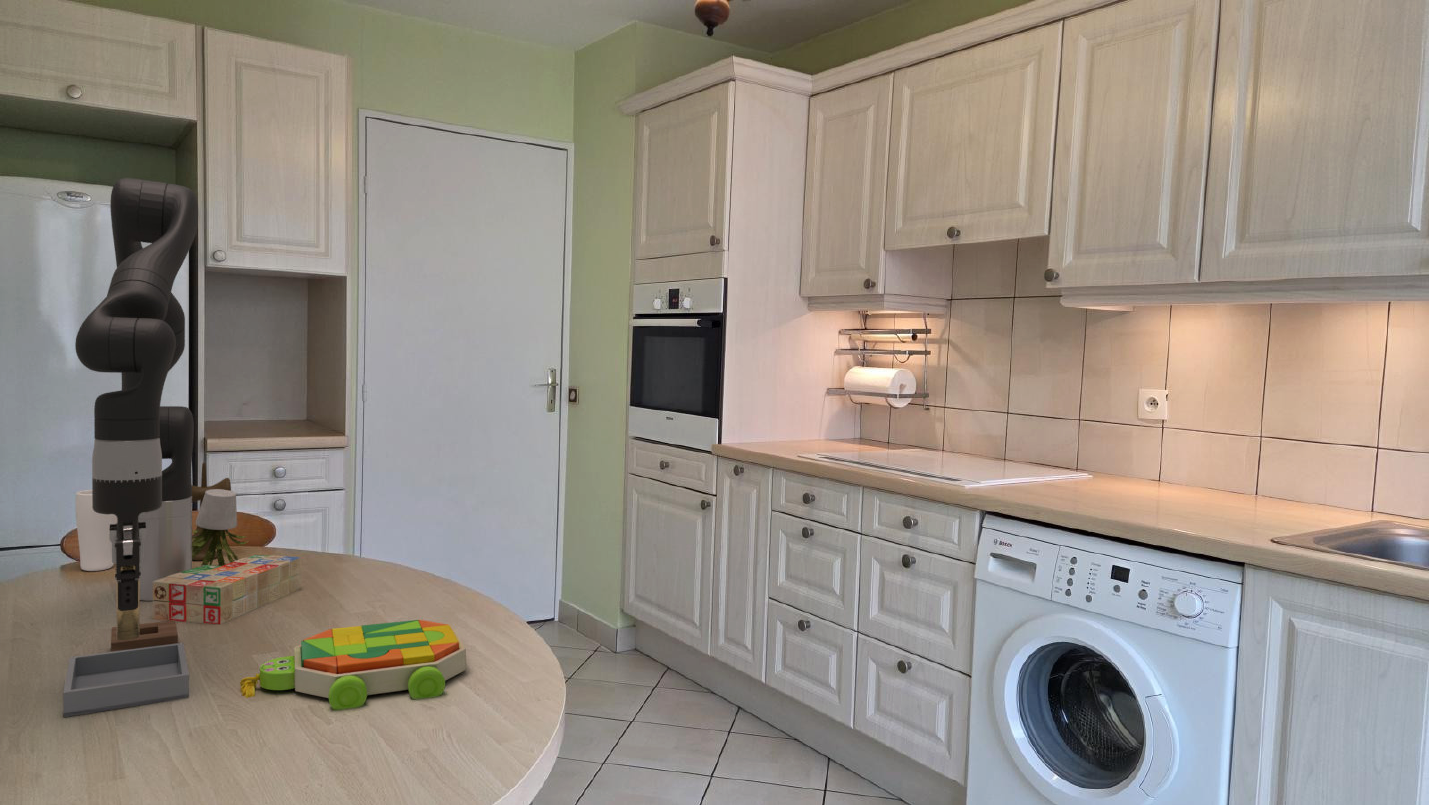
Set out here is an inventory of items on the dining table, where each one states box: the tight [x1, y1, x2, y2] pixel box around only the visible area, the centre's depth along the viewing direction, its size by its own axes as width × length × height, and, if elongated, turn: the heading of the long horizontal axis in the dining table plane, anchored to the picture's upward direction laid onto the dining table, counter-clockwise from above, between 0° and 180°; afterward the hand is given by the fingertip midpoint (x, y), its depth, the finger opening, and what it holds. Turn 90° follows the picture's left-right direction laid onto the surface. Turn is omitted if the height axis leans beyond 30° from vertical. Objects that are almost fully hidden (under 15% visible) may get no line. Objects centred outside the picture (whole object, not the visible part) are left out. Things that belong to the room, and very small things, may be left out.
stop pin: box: [115, 563, 141, 640], centre depth 117 cm, size 2×2×12 cm
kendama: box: [192, 461, 232, 562], centre depth 184 cm, size 6×10×20 cm, turn 123°
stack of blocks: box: [152, 554, 301, 625], centre depth 155 cm, size 21×6×12 cm
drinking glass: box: [74, 489, 117, 572], centre depth 175 cm, size 7×7×15 cm
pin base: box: [110, 620, 179, 652], centre depth 131 cm, size 8×8×3 cm
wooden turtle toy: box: [239, 619, 467, 711], centre depth 123 cm, size 22×28×6 cm
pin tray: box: [62, 642, 190, 718], centre depth 118 cm, size 14×13×3 cm
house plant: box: [192, 489, 249, 566], centre depth 174 cm, size 14×14×16 cm
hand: (128, 606), depth 117 cm, fingers closed on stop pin, 2 cm apart
